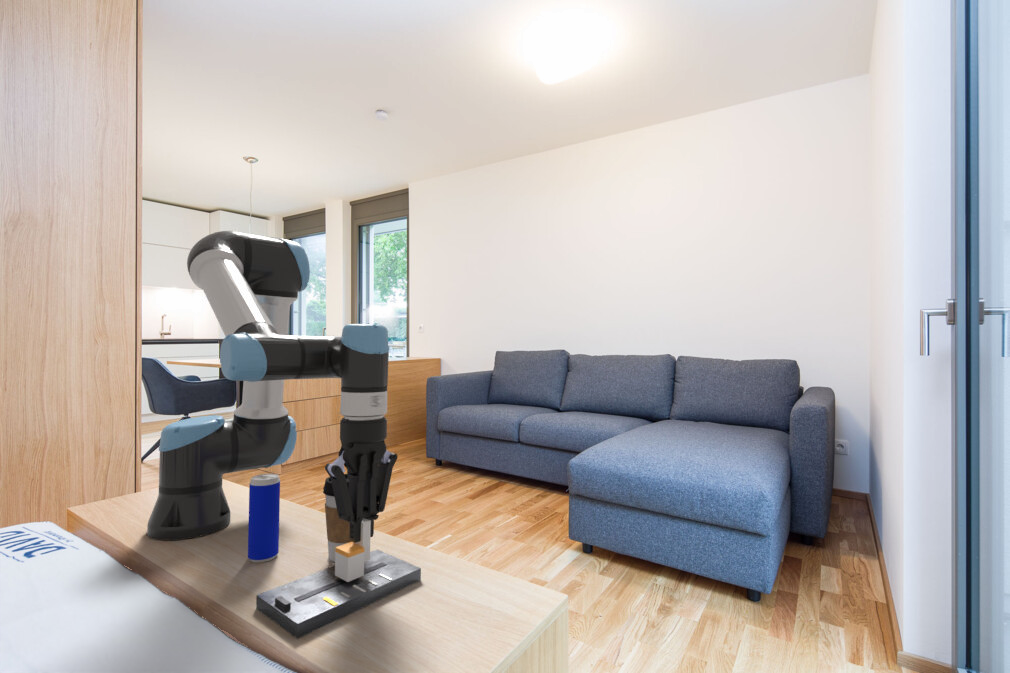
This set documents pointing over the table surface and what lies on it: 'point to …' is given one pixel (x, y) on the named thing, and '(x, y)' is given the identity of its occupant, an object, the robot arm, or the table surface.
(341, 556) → the fader tab
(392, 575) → the panel
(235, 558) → the table surface
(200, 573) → the table surface
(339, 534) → the coffee cup
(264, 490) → the beverage can
